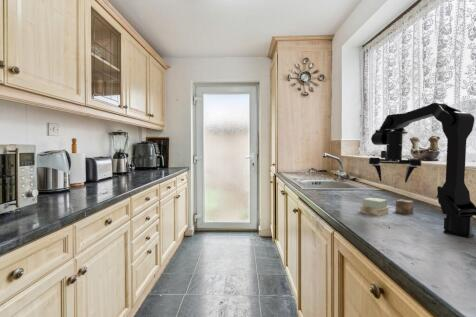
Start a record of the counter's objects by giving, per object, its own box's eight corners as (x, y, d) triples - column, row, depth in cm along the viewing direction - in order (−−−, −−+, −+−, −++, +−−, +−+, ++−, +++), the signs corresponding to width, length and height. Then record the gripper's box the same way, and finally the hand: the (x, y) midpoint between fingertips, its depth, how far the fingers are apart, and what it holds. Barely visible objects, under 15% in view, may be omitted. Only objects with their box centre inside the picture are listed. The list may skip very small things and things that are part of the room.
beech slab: (388, 214, 115) (388, 207, 115) (379, 216, 110) (379, 209, 110) (369, 210, 121) (369, 203, 121) (360, 212, 116) (360, 206, 116)
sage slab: (387, 207, 115) (387, 200, 115) (379, 209, 111) (379, 201, 111) (370, 204, 121) (370, 197, 120) (362, 206, 116) (362, 199, 116)
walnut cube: (413, 212, 117) (413, 201, 116) (408, 214, 114) (408, 202, 113) (400, 210, 121) (400, 199, 120) (395, 211, 118) (395, 200, 117)
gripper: (416, 145, 117) (414, 181, 118) (368, 144, 125) (367, 178, 125) (422, 145, 107) (420, 184, 108) (370, 144, 114) (368, 181, 115)
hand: (392, 181), depth 114 cm, fingers open, 9 cm apart
